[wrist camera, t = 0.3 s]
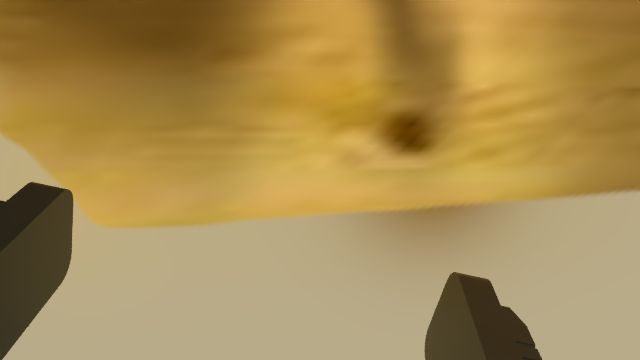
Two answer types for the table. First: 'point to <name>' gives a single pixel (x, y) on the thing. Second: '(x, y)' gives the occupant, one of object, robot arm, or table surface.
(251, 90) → the table surface
